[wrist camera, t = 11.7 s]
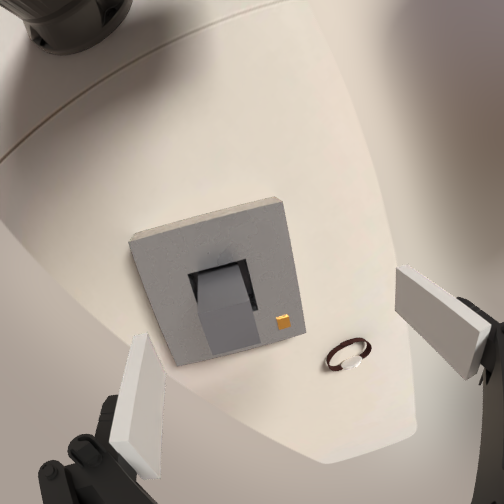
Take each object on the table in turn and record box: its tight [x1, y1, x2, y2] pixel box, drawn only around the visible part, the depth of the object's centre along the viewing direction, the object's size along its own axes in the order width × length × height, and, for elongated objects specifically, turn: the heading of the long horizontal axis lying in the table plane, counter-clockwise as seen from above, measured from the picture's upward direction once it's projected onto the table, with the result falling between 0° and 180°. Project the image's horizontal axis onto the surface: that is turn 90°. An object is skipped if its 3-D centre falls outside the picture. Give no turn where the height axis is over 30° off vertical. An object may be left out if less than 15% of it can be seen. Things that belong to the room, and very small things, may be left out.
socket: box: [128, 196, 306, 366], centre depth 39 cm, size 18×18×4 cm
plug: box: [198, 261, 261, 355], centre depth 35 cm, size 5×5×12 cm
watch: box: [326, 338, 372, 371], centre depth 47 cm, size 8×5×4 cm, turn 112°
